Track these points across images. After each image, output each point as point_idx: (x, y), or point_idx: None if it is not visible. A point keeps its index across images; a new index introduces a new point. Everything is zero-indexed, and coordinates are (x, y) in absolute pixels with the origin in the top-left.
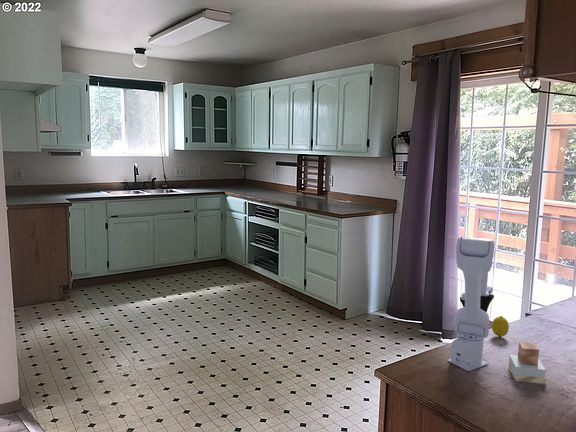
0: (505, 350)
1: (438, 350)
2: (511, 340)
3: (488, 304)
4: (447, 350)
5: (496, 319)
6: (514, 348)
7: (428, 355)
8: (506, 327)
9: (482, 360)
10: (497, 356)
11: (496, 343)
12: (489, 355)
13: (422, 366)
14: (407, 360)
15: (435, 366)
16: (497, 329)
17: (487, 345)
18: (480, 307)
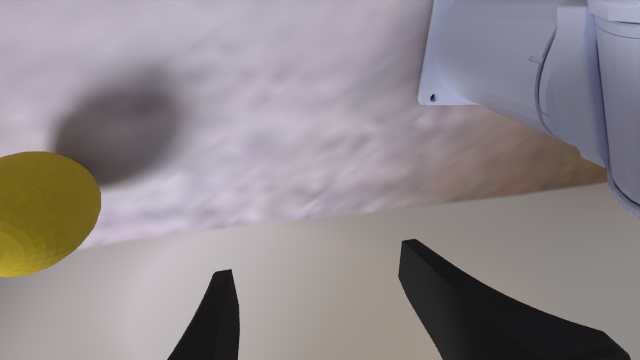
0: (184, 35)
1: (464, 189)
2: (19, 113)
3: (194, 353)
4: (438, 174)
5: (44, 252)
6: (98, 22)
7: (531, 173)
8: (10, 168)
9: (439, 5)
10: (301, 6)
11: (158, 126)
12: (329, 41)
13: None
14: None
15: None
16: (87, 190)
17: (230, 131)
18: (235, 349)
